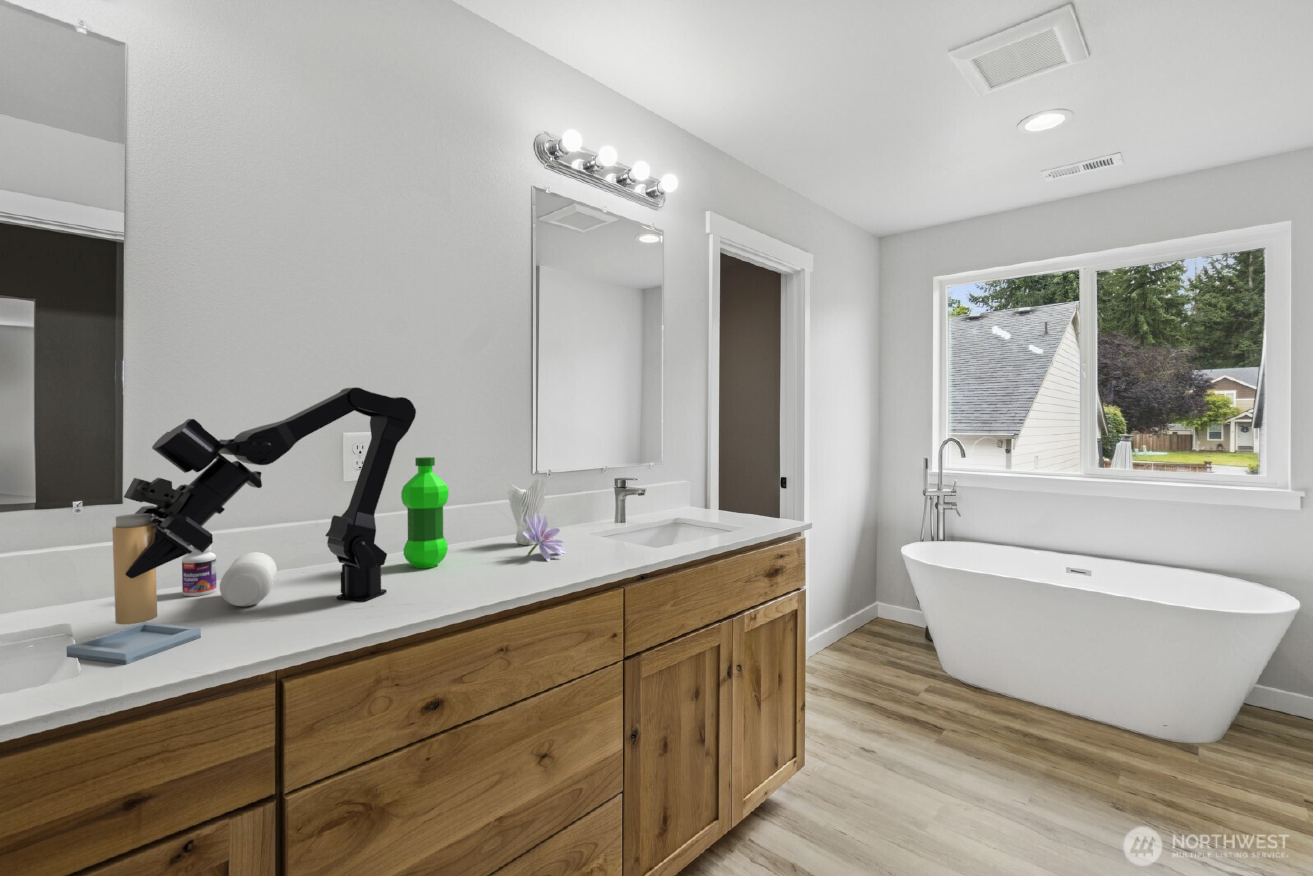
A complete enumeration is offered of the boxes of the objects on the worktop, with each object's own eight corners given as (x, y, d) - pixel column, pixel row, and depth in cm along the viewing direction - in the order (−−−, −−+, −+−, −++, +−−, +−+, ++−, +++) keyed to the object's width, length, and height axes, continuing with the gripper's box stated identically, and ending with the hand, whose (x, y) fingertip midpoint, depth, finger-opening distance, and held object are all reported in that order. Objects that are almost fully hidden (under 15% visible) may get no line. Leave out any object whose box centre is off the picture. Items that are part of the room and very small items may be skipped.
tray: (200, 637, 98) (200, 627, 97) (125, 664, 87) (125, 653, 87) (146, 631, 100) (146, 622, 100) (66, 657, 90) (66, 646, 89)
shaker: (164, 613, 96) (161, 512, 96) (144, 623, 91) (140, 517, 91) (129, 614, 95) (126, 513, 95) (107, 625, 91) (103, 518, 90)
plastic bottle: (455, 566, 144) (454, 458, 143) (407, 573, 138) (406, 459, 137) (443, 558, 152) (442, 455, 151) (397, 564, 146) (396, 457, 146)
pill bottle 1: (178, 598, 119) (177, 547, 118) (186, 591, 123) (185, 542, 123) (213, 595, 121) (212, 545, 120) (219, 588, 126) (218, 539, 125)
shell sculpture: (505, 544, 169) (504, 478, 168) (529, 540, 175) (529, 476, 175) (524, 548, 164) (524, 480, 163) (548, 544, 170) (548, 477, 169)
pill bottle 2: (251, 600, 123) (238, 622, 110) (219, 571, 121) (202, 590, 107) (287, 571, 126) (279, 590, 112) (257, 542, 123) (245, 558, 110)
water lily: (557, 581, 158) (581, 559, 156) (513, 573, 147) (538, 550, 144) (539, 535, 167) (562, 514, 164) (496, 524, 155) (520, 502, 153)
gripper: (147, 455, 101) (56, 533, 93) (184, 461, 90) (84, 550, 82) (206, 499, 108) (126, 575, 100) (247, 509, 96) (161, 596, 88)
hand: (123, 573), depth 92 cm, fingers closed on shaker, 5 cm apart
